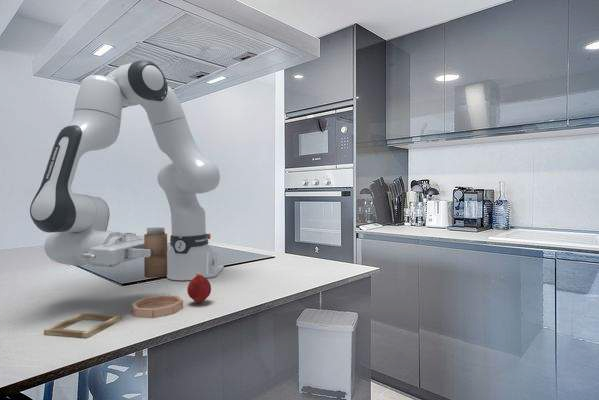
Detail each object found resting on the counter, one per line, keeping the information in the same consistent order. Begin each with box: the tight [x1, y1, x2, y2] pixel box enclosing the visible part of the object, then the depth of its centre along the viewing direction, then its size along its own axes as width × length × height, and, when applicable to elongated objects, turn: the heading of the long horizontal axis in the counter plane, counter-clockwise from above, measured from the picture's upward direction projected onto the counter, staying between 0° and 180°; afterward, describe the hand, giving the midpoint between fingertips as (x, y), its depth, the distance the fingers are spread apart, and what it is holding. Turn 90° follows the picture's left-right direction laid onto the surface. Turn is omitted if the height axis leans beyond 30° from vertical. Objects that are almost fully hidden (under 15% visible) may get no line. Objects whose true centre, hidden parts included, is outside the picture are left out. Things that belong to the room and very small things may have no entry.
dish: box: [131, 294, 184, 318], centre depth 87 cm, size 11×11×2 cm
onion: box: [187, 272, 212, 304], centre depth 92 cm, size 6×6×8 cm
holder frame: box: [43, 312, 122, 339], centre depth 76 cm, size 10×10×1 cm
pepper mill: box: [143, 226, 168, 279], centre depth 87 cm, size 5×5×12 cm
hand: (159, 250), depth 86 cm, fingers closed on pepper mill, 5 cm apart
